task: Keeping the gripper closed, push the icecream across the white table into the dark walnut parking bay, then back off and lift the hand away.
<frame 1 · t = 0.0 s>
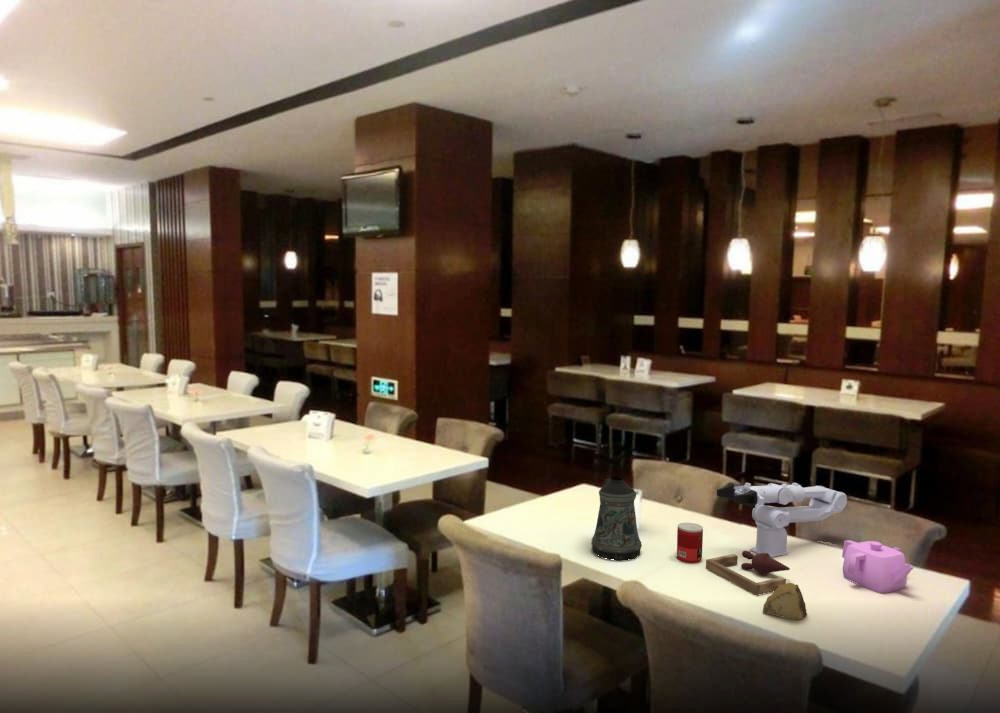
hand: (725, 495, 217), 22 cm above the table, tool horizontal, fingers open, 7 cm apart
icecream: (764, 574, 209), on the table
parking bay: (746, 578, 206), on the table
teakettle: (876, 583, 204), on the table
beer stein: (612, 551, 228), on the table
canned food: (689, 559, 221), on the table
rock: (783, 615, 183), on the table
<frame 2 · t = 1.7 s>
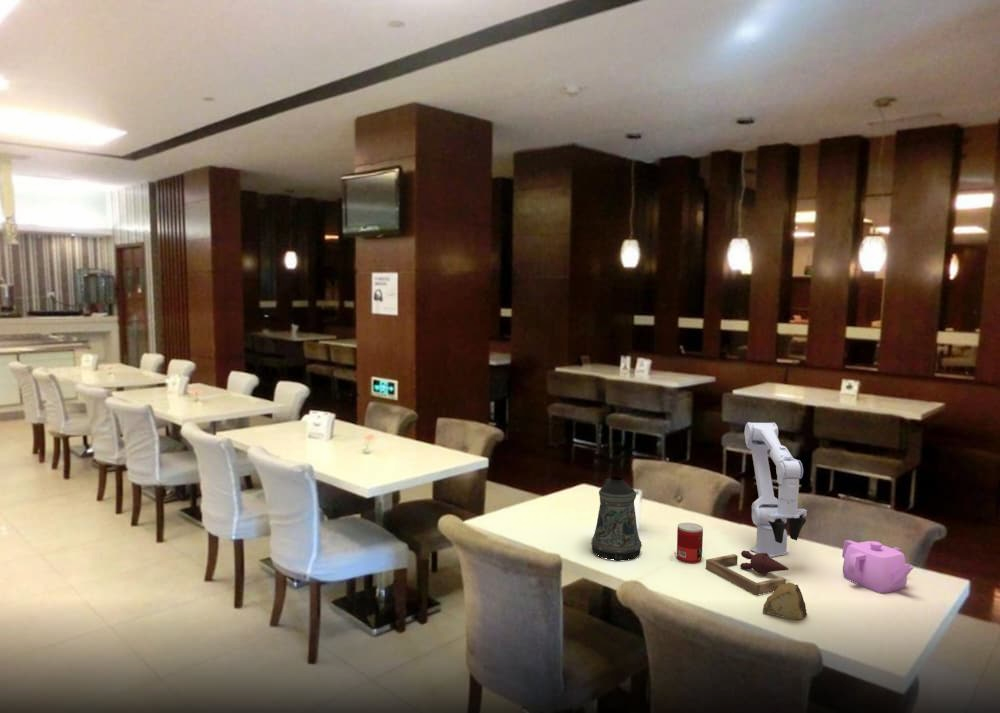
hand: (786, 540, 212), 9 cm above the table, tool pointing down, fingers open, 6 cm apart
nothing on the table moved.
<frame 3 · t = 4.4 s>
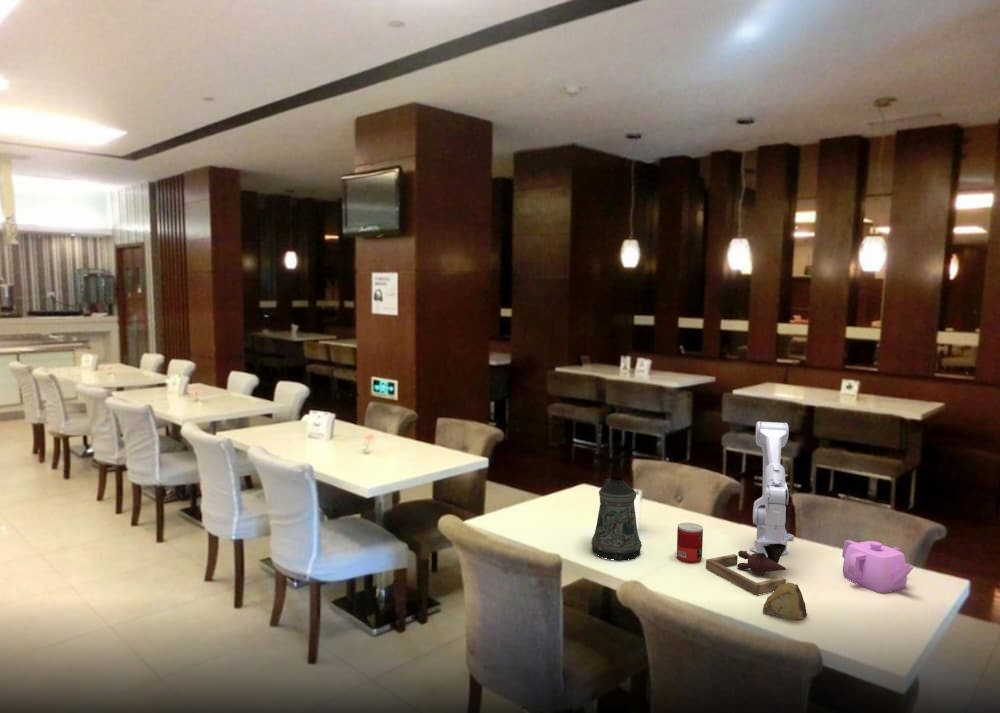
hand: (773, 566, 210), 2 cm above the table, tool pointing down, fingers closed
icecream: (760, 574, 209), on the table, touching gripper
everything else where it was.
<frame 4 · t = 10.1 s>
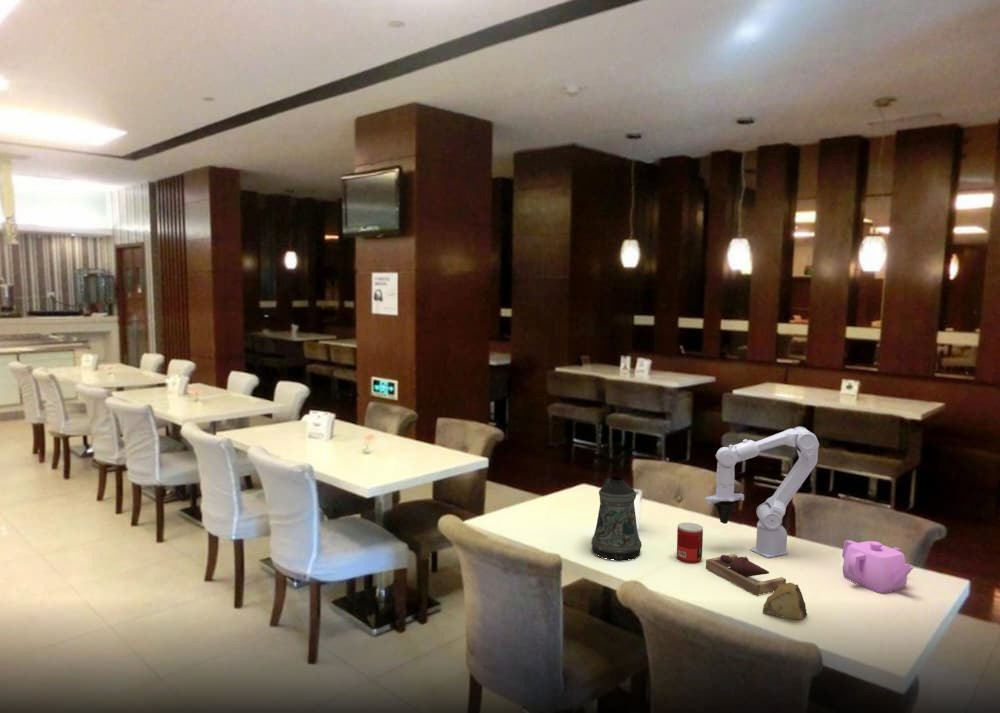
hand: (723, 522, 228), 9 cm above the table, tool pointing down, fingers closed
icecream: (743, 579, 206), on the table
everything else where it was.
at the end: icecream 0.9 cm off-centre on the parking bay, point 0.0 cm above the parking bay's base; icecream tilted 0°; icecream moved 8.4 cm from its start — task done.
